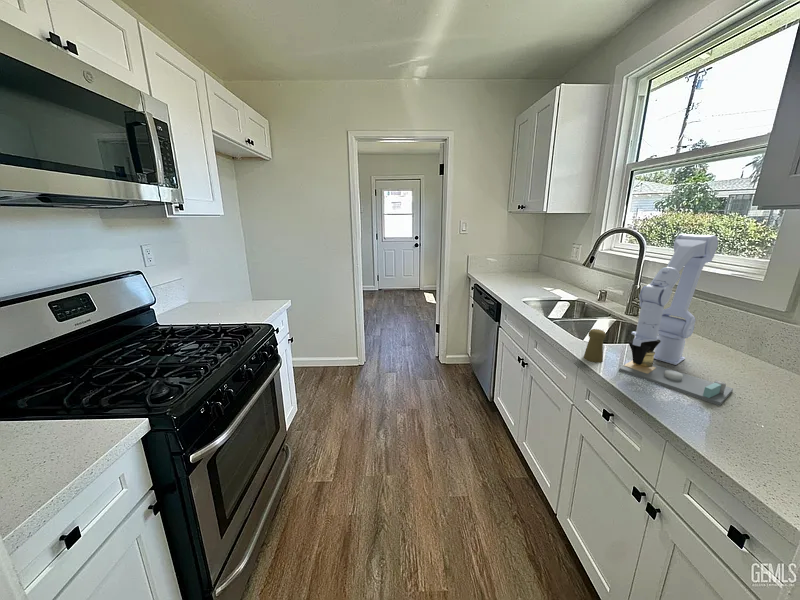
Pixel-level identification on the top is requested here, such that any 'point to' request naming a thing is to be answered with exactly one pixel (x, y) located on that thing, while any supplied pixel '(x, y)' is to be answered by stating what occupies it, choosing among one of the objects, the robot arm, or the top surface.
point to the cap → (647, 359)
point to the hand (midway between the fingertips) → (640, 361)
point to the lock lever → (714, 389)
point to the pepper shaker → (595, 346)
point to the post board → (675, 381)
